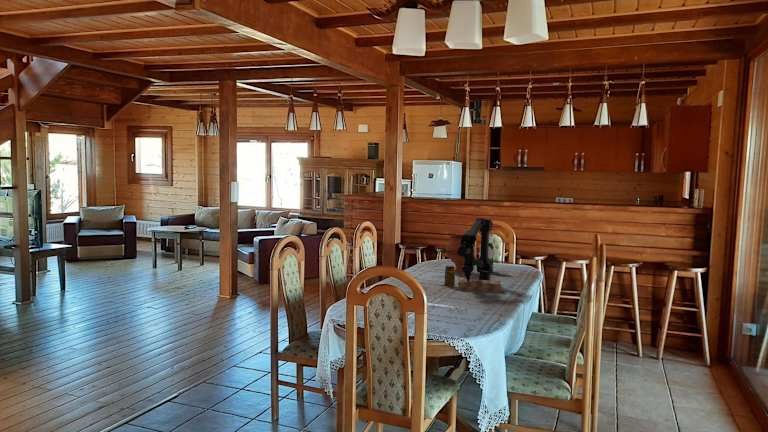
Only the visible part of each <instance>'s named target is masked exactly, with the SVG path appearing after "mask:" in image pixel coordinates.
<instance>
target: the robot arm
mask: <svg viewBox="0 0 768 432" xmlns="http://www.w3.org/2000/svg"><path fill="white" fill-rule="evenodd" d="M493 226H494V222H493V221H492V219H486V218H485V217H477V218H475V221H474V222H473V224H472V225H471V227H470V229H469V230H466V231H465V232H464V233H463V234H462V235H463V236H462V239H461V242H460V245H461V247H459V248H458V250H457V253H458V255H459V256H461V257H463V256H464V266H463V267H462V271H464V273H463V274H464V276H465V279H467V281H469V279H470V280H471V274H472V272H474V271H475V267H476V273H478V274H479V275H478V280H490V281H491V274H493V272H494V268H493V269H492V266H491V264H490V259H489V258H488V245H489V243H490V233H491V231H492V230H493ZM479 232H480V246H481V252H480V251H479V258H478V259H477V258H475V246H476V245H475V244H476V241H477V239H478V237H477V235H478V234H479Z"/></svg>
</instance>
